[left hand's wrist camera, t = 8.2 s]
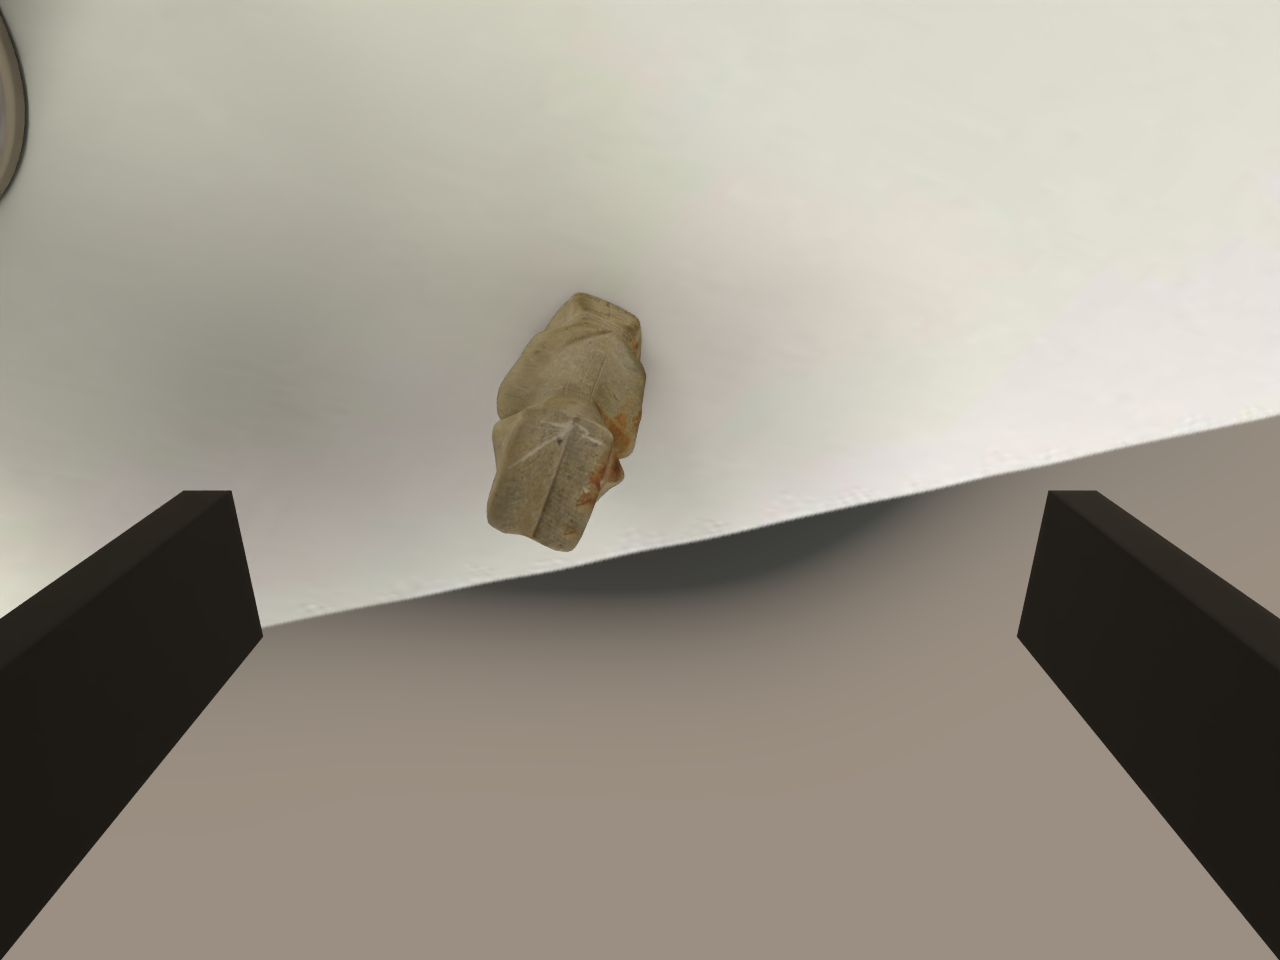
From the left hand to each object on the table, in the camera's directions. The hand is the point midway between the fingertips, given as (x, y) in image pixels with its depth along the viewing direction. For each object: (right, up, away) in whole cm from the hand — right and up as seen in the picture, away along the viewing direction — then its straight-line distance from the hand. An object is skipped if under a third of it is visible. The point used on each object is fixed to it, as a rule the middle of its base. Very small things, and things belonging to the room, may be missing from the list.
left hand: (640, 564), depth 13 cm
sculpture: (-3, +8, +26) cm, 28 cm away
